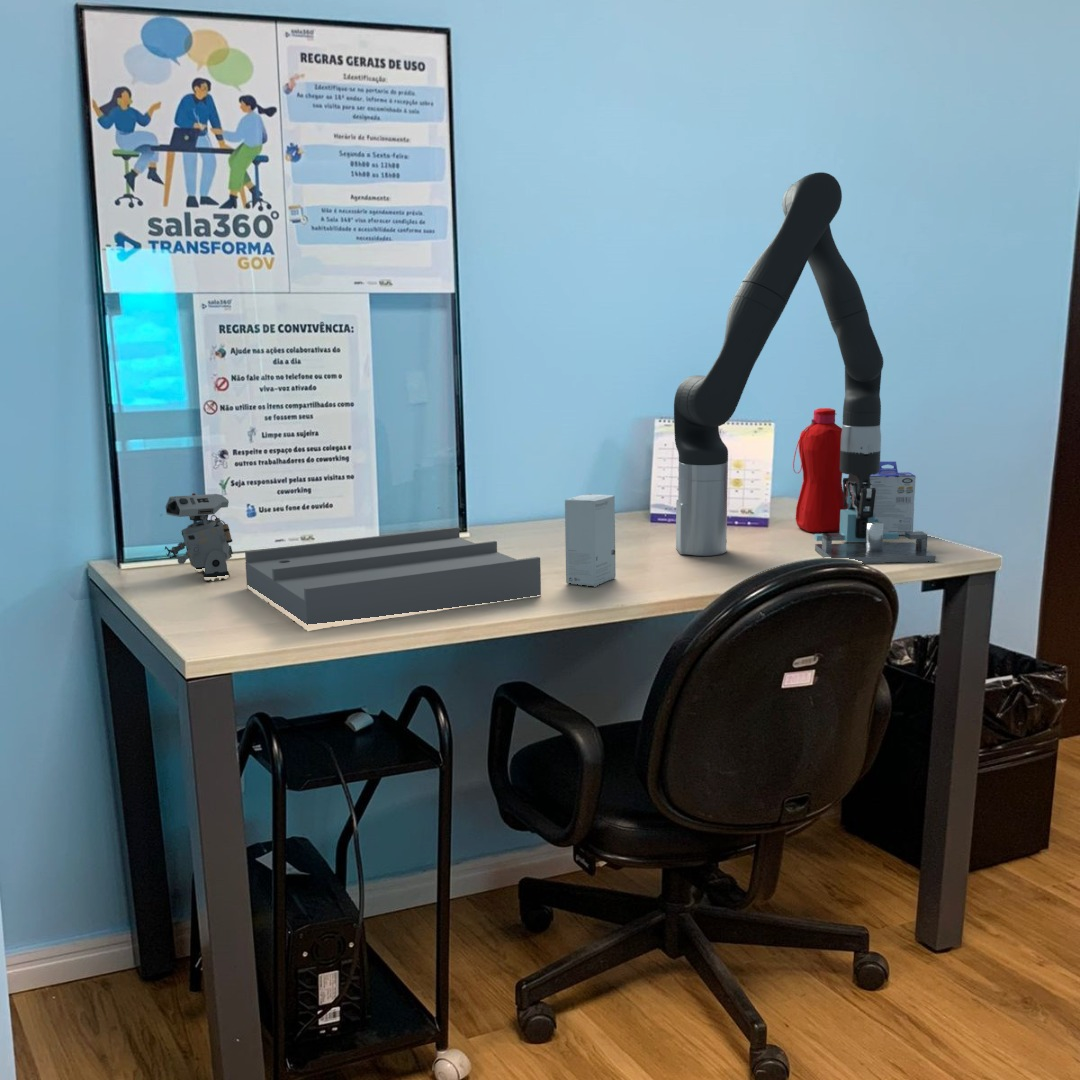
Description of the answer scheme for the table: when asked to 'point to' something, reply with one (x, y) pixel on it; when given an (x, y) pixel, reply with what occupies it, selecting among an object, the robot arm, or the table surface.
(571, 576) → the skincare box
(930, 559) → the mount
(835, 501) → the water bottle
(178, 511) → the figurine
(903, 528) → the ink cartridge box
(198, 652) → the table surface
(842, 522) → the light blue skewered cube
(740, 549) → the table surface
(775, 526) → the table surface
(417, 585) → the desk organizer
